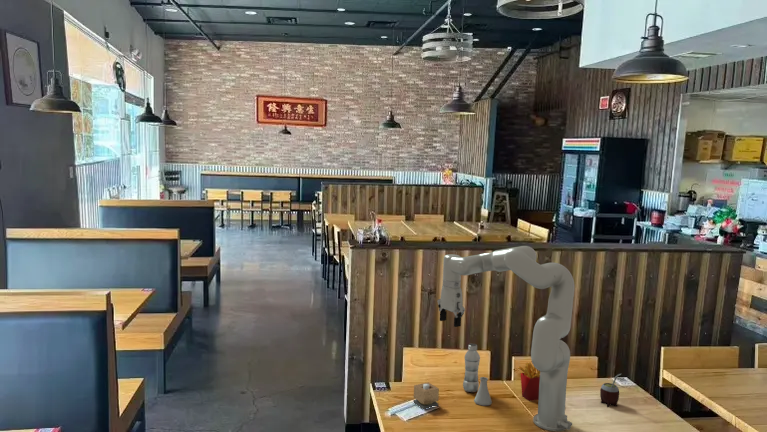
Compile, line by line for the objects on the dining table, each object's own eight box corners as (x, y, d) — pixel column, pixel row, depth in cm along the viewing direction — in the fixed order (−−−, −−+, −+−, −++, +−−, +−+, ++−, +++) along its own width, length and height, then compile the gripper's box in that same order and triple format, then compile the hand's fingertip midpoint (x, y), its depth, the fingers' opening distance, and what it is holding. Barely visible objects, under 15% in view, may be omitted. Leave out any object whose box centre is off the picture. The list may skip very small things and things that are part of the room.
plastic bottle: (459, 389, 225) (461, 343, 223) (472, 387, 228) (474, 341, 226) (468, 395, 219) (470, 348, 217) (481, 392, 222) (483, 346, 220)
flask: (492, 407, 208) (493, 382, 207) (473, 405, 210) (474, 380, 209) (492, 399, 215) (493, 376, 214) (474, 397, 217) (475, 374, 216)
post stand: (438, 406, 207) (438, 386, 207) (423, 409, 204) (424, 389, 203) (427, 399, 213) (428, 380, 213) (413, 402, 210) (414, 383, 209)
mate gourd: (601, 399, 219) (603, 364, 218) (621, 404, 215) (624, 368, 214) (598, 405, 212) (600, 369, 211) (619, 410, 208) (621, 373, 207)
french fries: (542, 400, 216) (544, 364, 215) (525, 403, 213) (527, 366, 212) (528, 391, 224) (530, 357, 223) (512, 394, 221) (514, 359, 220)
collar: (438, 400, 207) (438, 388, 207) (423, 404, 204) (424, 391, 203) (427, 394, 213) (428, 382, 213) (413, 397, 210) (414, 385, 209)
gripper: (471, 287, 217) (470, 327, 218) (445, 279, 232) (444, 317, 233) (457, 288, 213) (455, 330, 214) (432, 280, 228) (430, 319, 229)
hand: (449, 323), depth 224 cm, fingers open, 9 cm apart
